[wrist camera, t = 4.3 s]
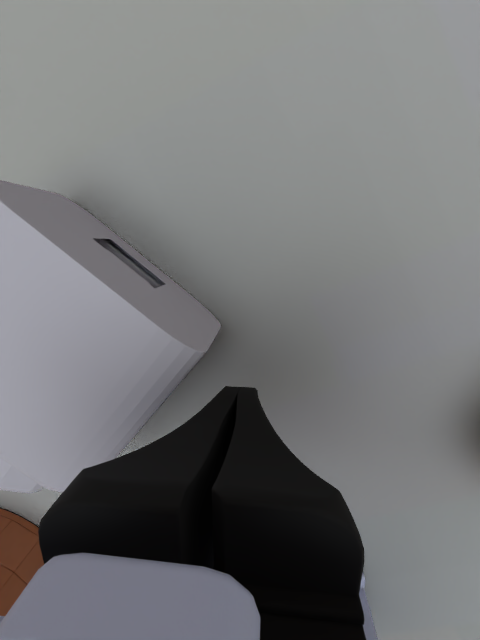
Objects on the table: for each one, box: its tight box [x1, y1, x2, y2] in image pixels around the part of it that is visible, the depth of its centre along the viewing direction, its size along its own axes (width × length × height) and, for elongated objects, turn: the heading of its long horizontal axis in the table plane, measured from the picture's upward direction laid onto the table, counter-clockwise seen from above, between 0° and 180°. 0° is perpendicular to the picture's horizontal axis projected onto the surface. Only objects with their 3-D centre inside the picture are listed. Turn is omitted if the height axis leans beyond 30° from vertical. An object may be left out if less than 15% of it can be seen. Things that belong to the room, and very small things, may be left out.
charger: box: [0, 180, 221, 493], centre depth 13 cm, size 5×9×15 cm
